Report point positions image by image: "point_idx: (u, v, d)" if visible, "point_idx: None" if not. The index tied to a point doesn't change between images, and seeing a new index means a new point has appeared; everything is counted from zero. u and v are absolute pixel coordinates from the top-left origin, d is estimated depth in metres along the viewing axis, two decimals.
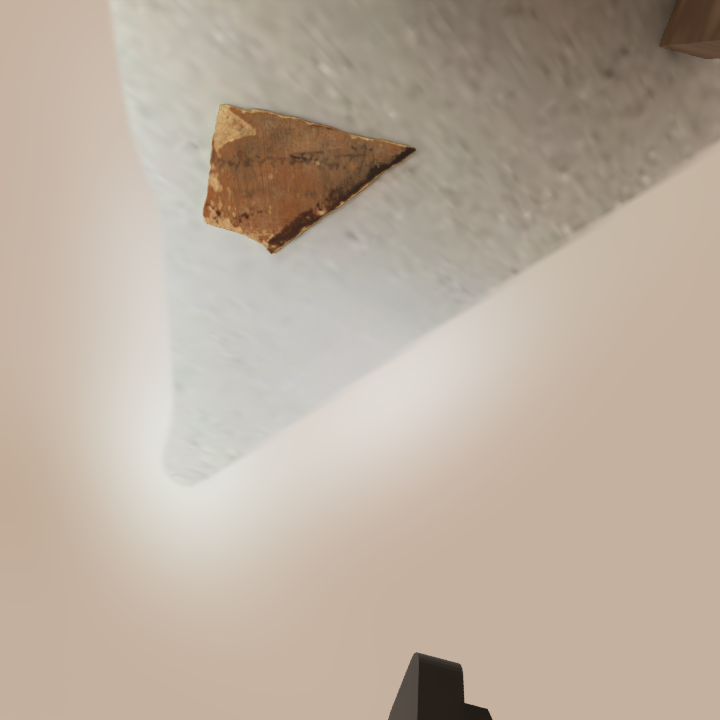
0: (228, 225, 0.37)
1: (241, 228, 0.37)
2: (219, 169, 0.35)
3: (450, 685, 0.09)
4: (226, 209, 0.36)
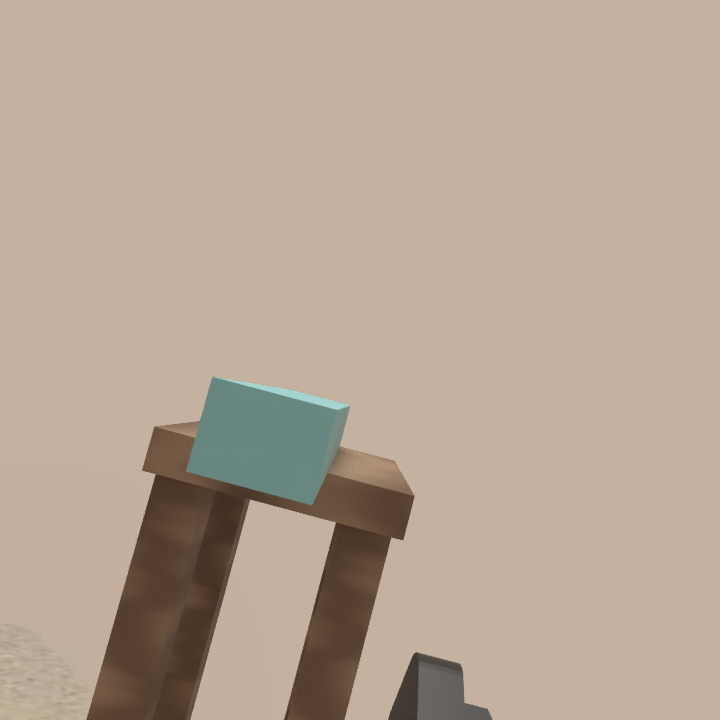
0: None
1: None
2: None
3: (450, 685, 0.09)
4: None
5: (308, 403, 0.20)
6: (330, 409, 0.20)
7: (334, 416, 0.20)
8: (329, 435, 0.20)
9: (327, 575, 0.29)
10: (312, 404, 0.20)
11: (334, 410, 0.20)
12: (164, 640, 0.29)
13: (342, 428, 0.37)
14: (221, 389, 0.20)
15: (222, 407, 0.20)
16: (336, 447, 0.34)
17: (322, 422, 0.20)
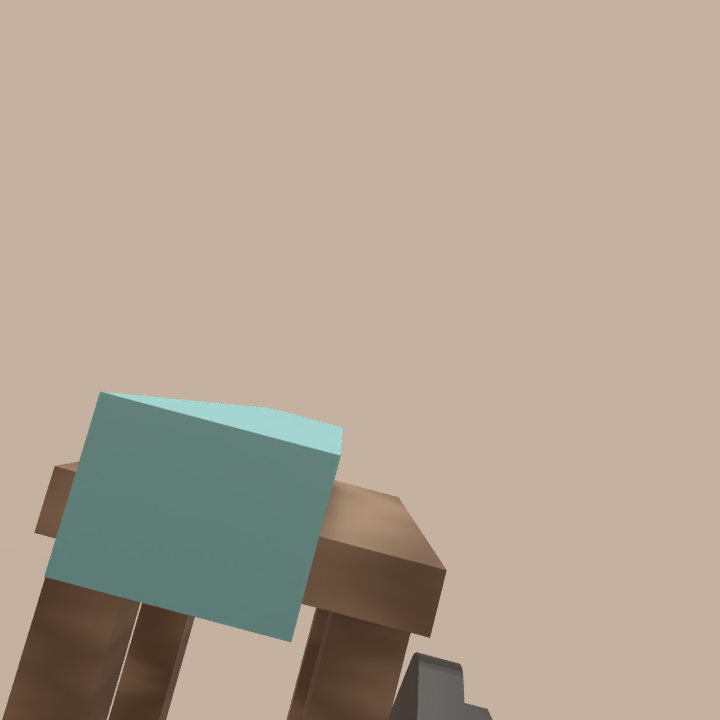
0: None
1: None
2: None
3: (450, 685, 0.09)
4: None
5: (285, 443, 0.10)
6: (327, 454, 0.10)
7: (334, 468, 0.10)
8: (325, 504, 0.10)
9: (315, 690, 0.19)
10: (292, 445, 0.10)
11: (334, 456, 0.10)
12: None
13: None
14: (117, 416, 0.10)
15: (117, 450, 0.10)
16: None
17: (311, 479, 0.10)
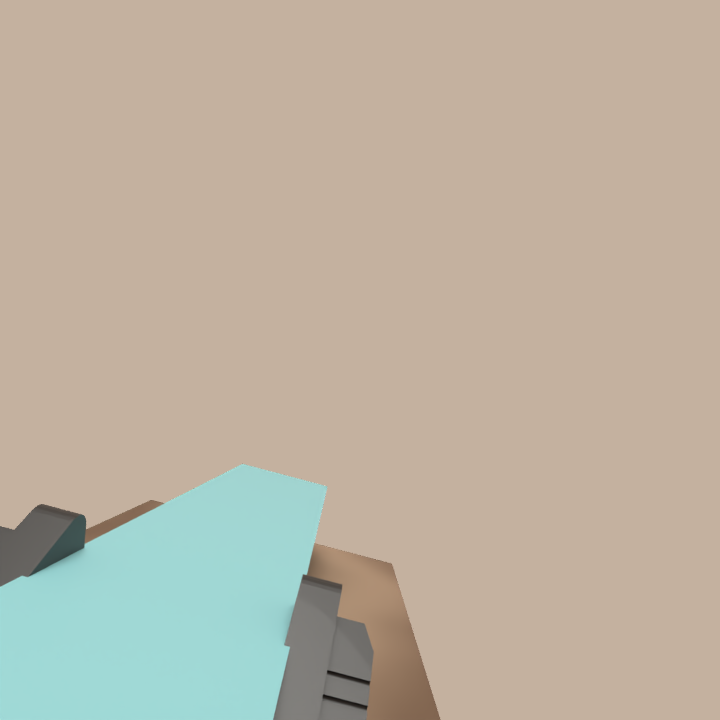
0: None
1: None
2: None
3: (327, 599, 0.10)
4: None
5: None
6: None
7: None
8: None
9: None
10: None
11: None
12: None
13: None
14: None
15: None
16: None
17: None
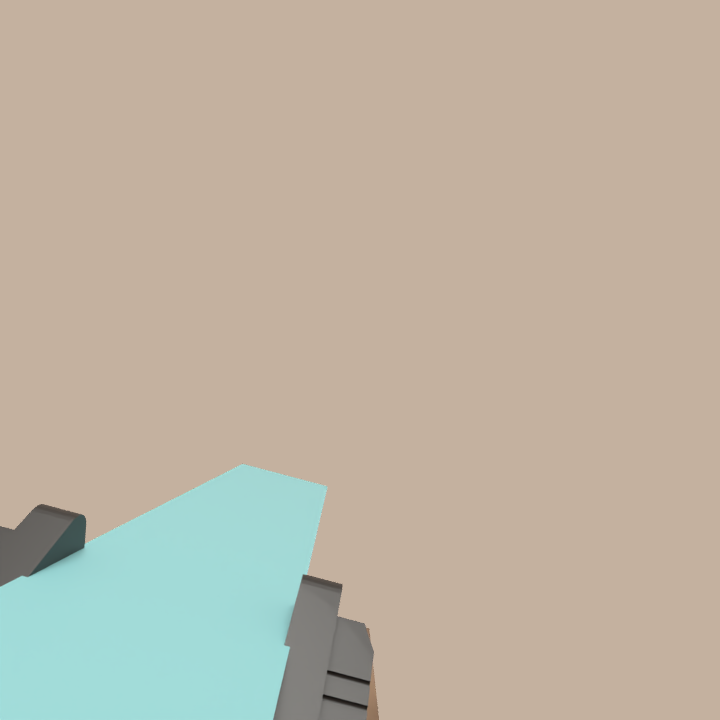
0: None
1: None
2: None
3: (327, 599, 0.10)
4: None
5: None
6: None
7: None
8: None
9: None
10: None
11: None
12: None
13: None
14: None
15: None
16: None
17: None
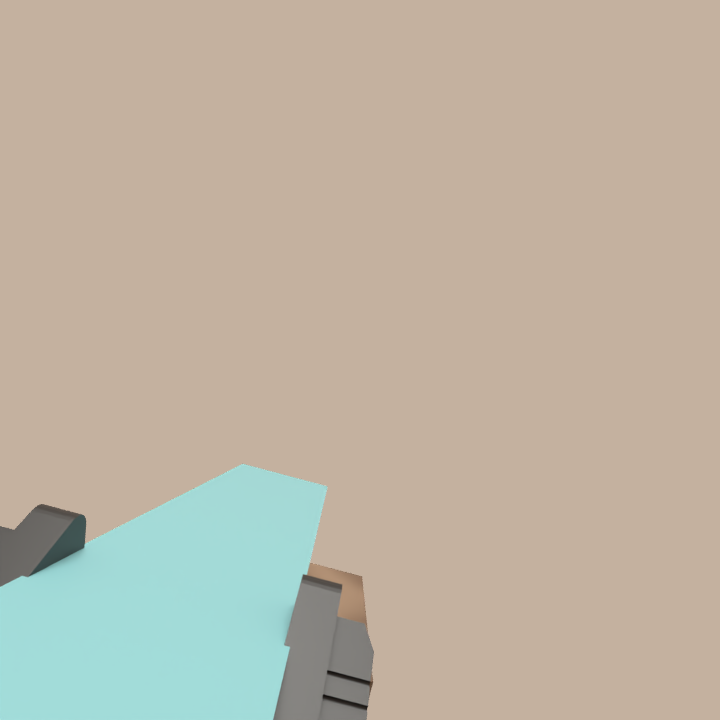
0: None
1: None
2: None
3: (327, 599, 0.10)
4: None
5: None
6: None
7: None
8: None
9: None
10: None
11: None
12: None
13: None
14: None
15: None
16: None
17: None
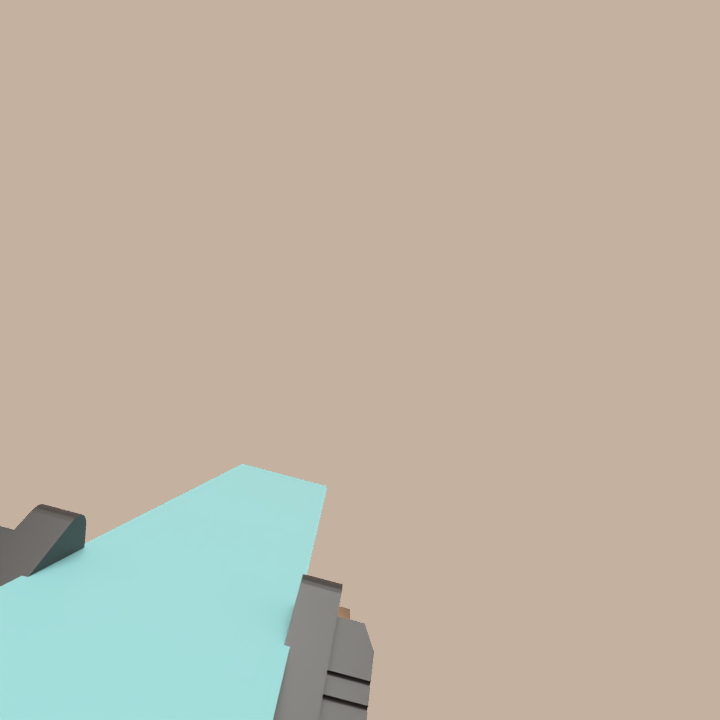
0: None
1: None
2: None
3: (327, 599, 0.10)
4: None
5: None
6: None
7: None
8: None
9: None
10: None
11: None
12: None
13: None
14: None
15: None
16: None
17: None
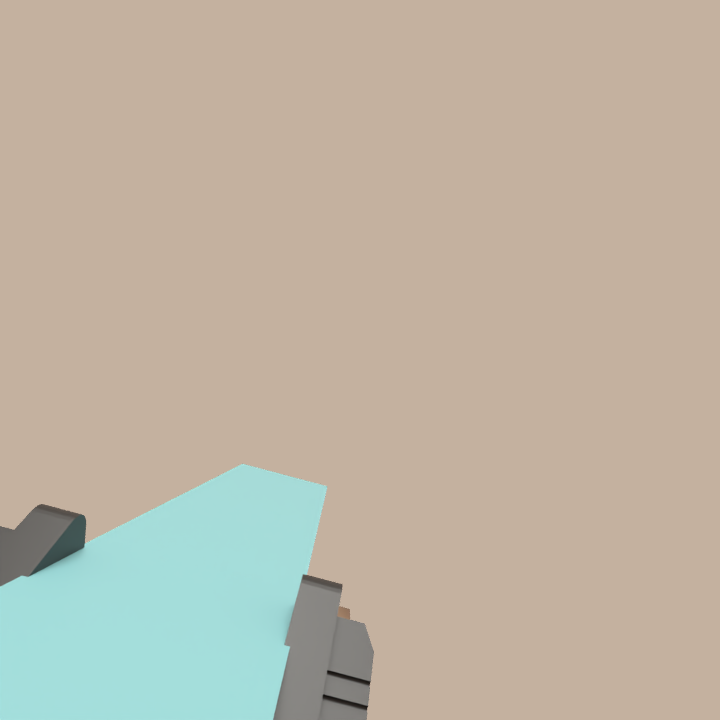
0: None
1: None
2: None
3: (327, 599, 0.10)
4: None
5: None
6: None
7: None
8: None
9: None
10: None
11: None
12: None
13: None
14: None
15: None
16: None
17: None
